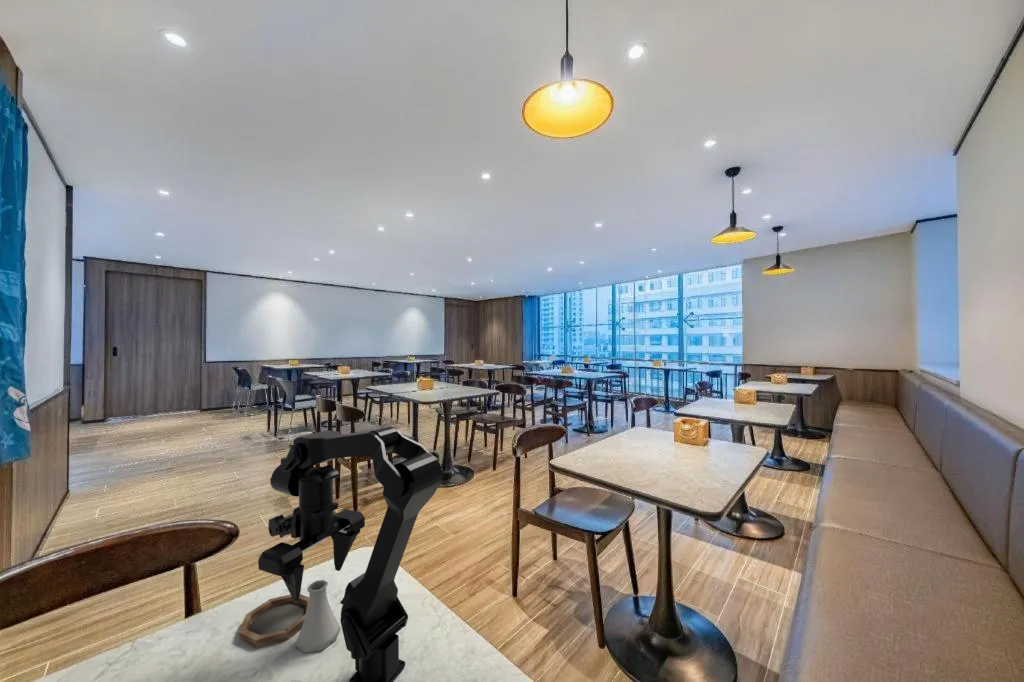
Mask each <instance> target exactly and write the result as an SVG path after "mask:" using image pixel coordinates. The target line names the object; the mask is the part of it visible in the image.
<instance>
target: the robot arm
mask: <svg viewBox="0 0 1024 682" xmlns="http://www.w3.org/2000/svg"><path fill="white" fill-rule="evenodd" d="M391 451H392V452H393V454H395V455H398V456H399V457H401V458H403V459H404V460H402V461H399V462H397V463H394V464H393V463H392V462H391V461H389V459H388V458H387V453H388V452H391ZM362 456H368V457H370V459H371V460H372V465H373V472H374V473H373V474H374V477H375V478H376V479H377V480H378V482H379V483H380V484H381V485H382V486H383V490H382V495H383V498H384V501H385V503H386V506H387V507H386V511H385V513H384V517H383V519H382V522H381V526H380V528H379V531H378V534H377V538H376V540H375V543H374V546H373V549H372V551H371V555H370V558H369V561H368V564H367V567H366V569H365V572H363V573H362V574H361V575H359V576H357V577H356V578H354V579H353V580H351V581H349V582H348V583H347V585H346V587H345V591H344V596H343V598H342V599H341V600H340V605H342V606H341V609H340V627H341V630H342V634H343V639H344V643H345V647H346V650H347V651H348V652H350V656H351V658H350V659H352V660H355V662H354V666H355V673H354V674H353V675H352V676H351V677H350V678H349V679H348V680H349V682H394V680H395V679H396V678H397V677H398V676H399V674H400V673H401V671H402V670H403V669H404V668H405V667H406V661H405V660H402V659H400V652H399V651H400V650H399V649H400V648H399V644H400V643H399V642H400V641H399V639H400V637H399V634H397V633H398V632H399V631H401V630H402V629H404V628H405V627H406V626H407V624H408V620H409V614H408V613H407V611H406V609H405V608H404V606H403V604H402V602H401V600H400V599H399V597H398V595H399V594H398V592H399V589H398V586H397V584H396V582H395V579H396V576H397V573H398V570H399V567H400V564H401V563H402V560H403V556H404V554H405V551H406V550H407V549H406V548H407V545H408V543H409V540H410V537H411V535H412V532H413V529H414V526H415V524H416V521H417V519H418V515H419V513H420V511H421V510H422V509H423V508H424V506H425V505H427V503H428V502H429V501H430V500H431V498H433V496H434V495H435V493H436V491H437V490H438V488H439V487H440V485H441V483H442V482H443V478H444V470H443V468H442V466H441V463H440V462H439V460H438V458H436V456H434V455H433V454H432V453H431V452H430V451H429V450H428V449H427V448H426V446H425V445H423V444H421V443H419V442H417V441H416V440H414V439H411V438H410V437H407V436H406V435H404V434H403V433H402V431H400V430H399V429H398V428H397V427H396V426H389V425H388V426H385V427H381V428H377V429H373V430H372V429H371V430H363V431H357V432H351V433H350V432H349V433H344V434H343V433H340V432H339V431H336V430H323V431H319V432H314V433H310V434H305V435H302V436H297V437H295V438H294V439H293V444H292V445H291V446H290V448H289V451H288V453H287V455H286V456H285V457H282V458H280V464H279V465H278V466H276V468H274V471H273V472H272V473H271V477H270V479H269V483H270V486H271V488H272V489H273V490H274V491H276V492H279V493H283V494H285V495H289V496H292V497H297V498H298V506H297V507H296V508H293V510H292V513H291V514H289V515H286V516H285V515H283V514H280V515H277V516H274V517H272V518H269V519H268V534H269V535H270V537H272V538H273V537H277V536H279V538H284V536H288V535H290V538H292V539H297V538H299V541H298V542H295V543H294V544H293V543H292V544H289V543H285V542H279V543H277V544H275V545H274V546H272V547H269V548H267V549H265V550H263V551H262V553H261V554H259V556H258V559H257V560H258V570H259V571H262V572H266V573H268V574H271V575H275V576H277V577H281V579H282V580H283V582H284V584H285V586H286V587H287V590H288V592H289V595H291V597H292V599H294V600H298V599H299V596H300V594H301V590H302V585H303V576H304V569H305V565H304V564H302V562H303V559H304V556H303V555H304V554H303V553H304V552H306V551H308V550H309V549H311V548H313V547H315V546H317V545H319V544H320V543H322V542H324V541H325V540H327V539H328V538H331V540H332V546H333V565H334V570H335V571H337V572H340V571H341V570H342V567H343V565H344V563H345V561H346V559H347V557H348V554H349V552H350V550H351V548H352V546H353V544H354V542H355V541H356V539H357V536H358V535H359V534H360V533H361V529H362V528H364V527H365V526H366V525H365V519H366V517H365V515H364V514H363V512H360V511H356V510H352V509H347V508H345V509H343V510H341V511H339V512H337V513H334V511H336V510H338V509H339V503H338V502H335V501H334V479H338V478H339V477H340V472H339V471H338V470H337V469H336V468H334V467H333V466H332V464H328V465H324V466H321V464H322V463H326V462H329V461H333V460H335V459H340V458H350V457H352V458H353V457H362ZM317 465H318V466H317Z"/></svg>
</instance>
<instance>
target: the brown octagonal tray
mask: <svg viewBox="0 0 1024 682" xmlns="http://www.w3.org/2000/svg"><path fill="white" fill-rule="evenodd" d="M308 605H309V596H308V595H305V594H301V593H300V596H299V599H298V600H294V599H292V597H291V595H290V594H287V595H286V594H285V595H283V596H278V597H273V598H269V599H268V600H267V601H265V602H263V603H261V604H260V605H259V606H257V607H255V608H254V609H252V610H250V611H249V612H248V613H246V614H245V615H244V619H243V621H242V623H241V625H240V628H239V631H238V641H239V642H242V643H244V644H246V645H249V646H250V647H253V648H255V649H259V648H264V647H267V646H270V645H274V644H277V643H281V642H285V641H288V640H290V639H291V638H292V637H294V636H295V635H296V634H298V633H300V631H301V628H302V625H303V622H304V619H305V616H306V613H307V610H308Z"/></svg>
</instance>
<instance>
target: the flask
mask: <svg viewBox="0 0 1024 682" xmlns="http://www.w3.org/2000/svg"><path fill="white" fill-rule="evenodd" d="M328 584H329V583H328V581H326V580H316V581H314V582H312V583H311V584H309V585H308V587H307V592H308V593H309V596H308V597H309V605H308V610H307V613H306V616H305V619H304V622H303V625H302V628H301V630H300V631H299V634H298V636H297V639H296V643H295V648H297V649H298V650H300V651H301V652H303V653H313V652H314V653H315V652H321V651H324V649H326V648H327V647H329V645H331V644H332V643H334V642H335V641H336V640H337V637H338V636H339V633H340V631H341V630H342V627H341V625H340V624H339V622H338V619H337V618H336V616H335V614H334V612H333V609H332V608H331V605H330V603H329V601H328V595H327V586H328Z"/></svg>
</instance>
